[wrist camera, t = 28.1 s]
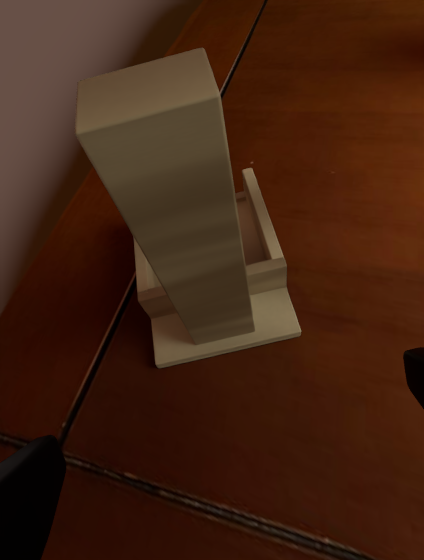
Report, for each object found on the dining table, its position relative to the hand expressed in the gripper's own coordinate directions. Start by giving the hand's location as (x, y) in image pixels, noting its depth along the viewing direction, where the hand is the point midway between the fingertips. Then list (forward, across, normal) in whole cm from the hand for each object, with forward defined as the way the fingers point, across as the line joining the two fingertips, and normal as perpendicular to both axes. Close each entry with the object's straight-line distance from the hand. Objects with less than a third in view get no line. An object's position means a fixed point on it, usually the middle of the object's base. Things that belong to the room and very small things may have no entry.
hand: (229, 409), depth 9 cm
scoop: (+11, 0, -1) cm, 12 cm away
